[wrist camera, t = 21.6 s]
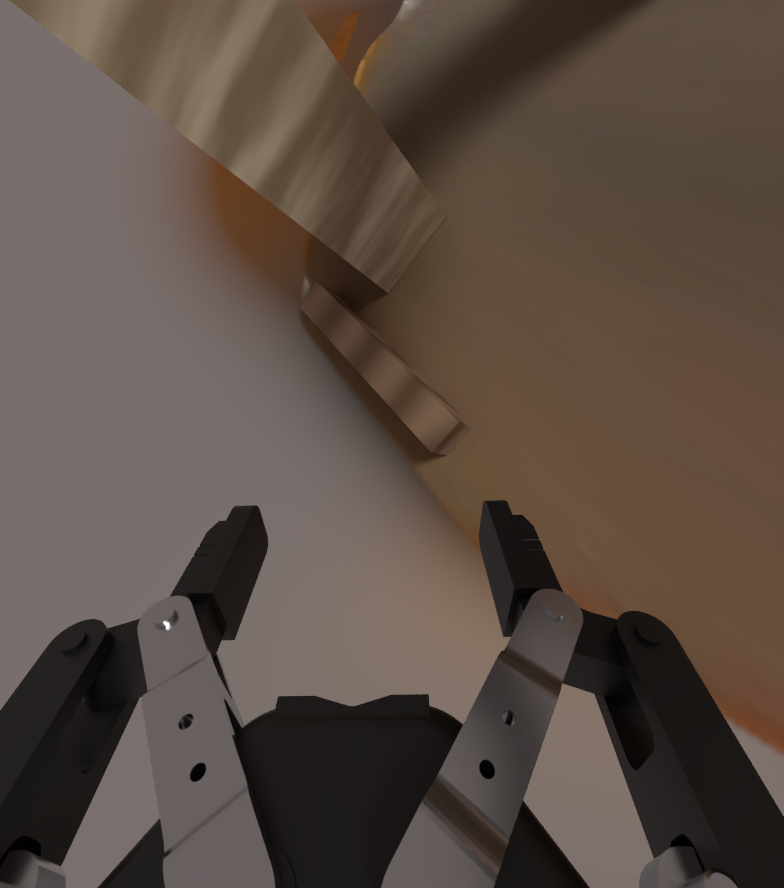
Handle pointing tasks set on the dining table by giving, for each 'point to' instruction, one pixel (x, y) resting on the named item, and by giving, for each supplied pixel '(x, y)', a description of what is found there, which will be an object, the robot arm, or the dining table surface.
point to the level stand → (263, 114)
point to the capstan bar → (386, 372)
